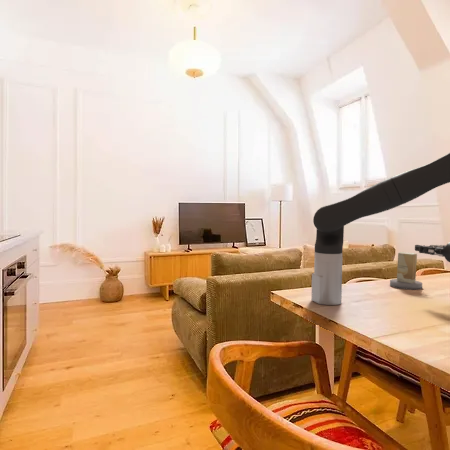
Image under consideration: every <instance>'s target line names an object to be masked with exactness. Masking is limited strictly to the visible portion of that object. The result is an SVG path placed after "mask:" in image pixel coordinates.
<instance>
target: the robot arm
mask: <svg viewBox="0 0 450 450" xmlns="http://www.w3.org/2000/svg"><path fill="white" fill-rule="evenodd" d="M449 183H450V152H449V153H447V154H445V155H443V156H440V158H437V159H436V160H433V161H431V162H428V163H426V164H425V165H421V166H420V167H419V166H418V167H416V168H412V169H410V170H407V171H404V172H401V173H399V174H397V175H394V176H391V177H389V178H386V179H384V180H381V181H380V182H378V183H376V184H373V185H371V186H369V187H368V188H366V189H364V190H363V189H362V190H361V191H360V192H358V193H356V194H354V195H353V196H351V197H349V198H345V199H343V200H340V201H338V202H334V203H332V204H328V205H325V206H322V207H320V208H318V209H317V210H316V212H315V213H314V214H313V220H312V222H313V225H314V227H315V228H316V238H315V242H314V259H313V260H314V263H313V264H314V267H313V269H314V272H313V273H311V301H313V302H314V303H316V304H318V305H324V306H325V305H326V306H337V305H341V304H342V301H343V300H342V298H343V296H342V295H343V294H342V293H343V291H342V290H343V289H342V288H343V249H344V238H345V237H344V234H345V232H344V231H345V230H344V229H345V226H347V225H348V224H350V223H352V222H355V221H357V220H359V219H361V218H365V217H368V216H372V215H376V214H380V213H383V212H387V211H389V210H392V209H395V208H397V207H399V206H402V205H405V204H407V203H410V202H411V201H413V200H416V199H417V198H419V197H421V196H424V194H426V193H428V192H430V191H432V190H434V189H436V188H439V187H441V186H443V185H446V184H449ZM414 250H415V251H416V252H418V253H419V254H424V255H425V254H426V255H431V256H438V257H444V258H445V260H446V261H447V262H448V263H450V241H449V242H448V243H447V244H440V245H439V244H430V245H422V244H421V245H419V244H415V245H414Z"/></svg>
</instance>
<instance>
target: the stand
mask: <svg viewBox="0 0 450 450" xmlns="http://www.w3.org/2000/svg"><path fill="white" fill-rule="evenodd" d="M389 286H390V287H393V288H395V289H400V290H409V291H413V290H414V291H415V290H422V289H423V282H421V281H419V280H415V282H414V283H406V282H400V281H397V278H392V279H389Z"/></svg>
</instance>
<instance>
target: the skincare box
mask: <svg viewBox="0 0 450 450" xmlns="http://www.w3.org/2000/svg"><path fill="white" fill-rule="evenodd" d="M417 257H418V253H415V252H414V253H413V252H404V251H402V252H401V251H400V252H398V253H397V268H396V279H397V281H400V282H406V283H414V282H415V281H417V280H416V277H417V264H418V263H417V261H418V258H417Z"/></svg>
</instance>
